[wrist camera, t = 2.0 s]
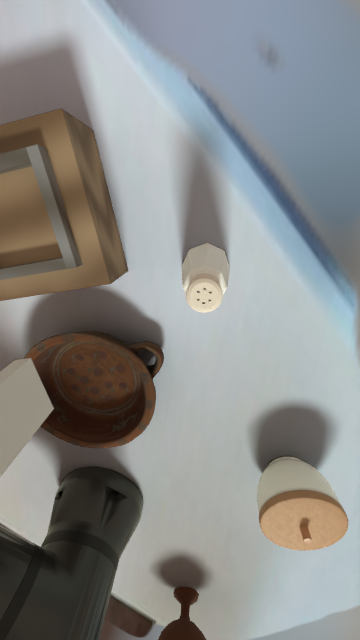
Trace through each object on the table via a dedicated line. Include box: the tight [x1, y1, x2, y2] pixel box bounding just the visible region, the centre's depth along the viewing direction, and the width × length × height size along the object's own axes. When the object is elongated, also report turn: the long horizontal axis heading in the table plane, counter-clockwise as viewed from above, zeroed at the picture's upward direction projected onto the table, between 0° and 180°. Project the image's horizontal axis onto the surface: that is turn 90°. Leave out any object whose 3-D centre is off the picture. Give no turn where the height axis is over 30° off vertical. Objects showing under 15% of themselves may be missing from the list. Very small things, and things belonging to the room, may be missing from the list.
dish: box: [24, 332, 164, 448], centre depth 35 cm, size 18×22×5 cm
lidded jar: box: [257, 456, 348, 550], centre depth 36 cm, size 11×11×9 cm
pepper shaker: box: [182, 243, 230, 313], centre depth 25 cm, size 5×5×11 cm
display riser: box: [0, 108, 128, 301], centre depth 26 cm, size 14×14×7 cm
